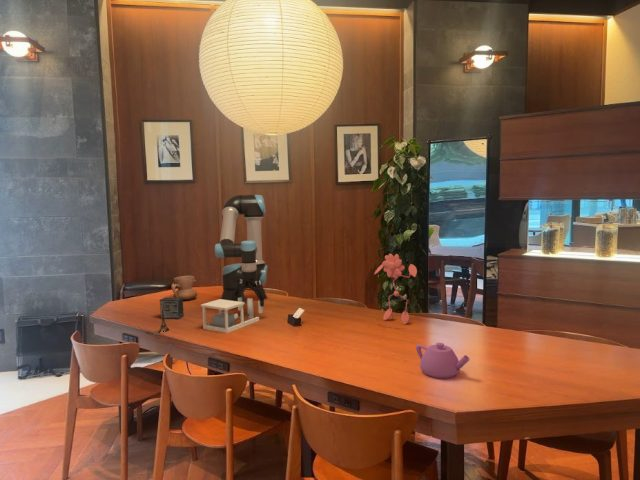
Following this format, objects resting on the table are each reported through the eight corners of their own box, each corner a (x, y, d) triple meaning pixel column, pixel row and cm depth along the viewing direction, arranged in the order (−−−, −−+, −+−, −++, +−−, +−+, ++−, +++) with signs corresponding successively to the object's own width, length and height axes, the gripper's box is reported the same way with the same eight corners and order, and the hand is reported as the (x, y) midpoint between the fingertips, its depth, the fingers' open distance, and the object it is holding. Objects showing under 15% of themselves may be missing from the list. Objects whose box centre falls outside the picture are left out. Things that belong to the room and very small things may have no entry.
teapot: (461, 386, 154) (461, 355, 153) (407, 372, 167) (407, 343, 166) (476, 373, 165) (477, 344, 164) (424, 361, 178) (425, 334, 176)
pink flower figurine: (381, 315, 244) (379, 250, 240) (423, 325, 226) (423, 254, 222) (362, 322, 233) (360, 253, 229) (405, 332, 215) (404, 258, 211)
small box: (184, 316, 251) (183, 297, 250) (179, 319, 245) (178, 299, 244) (165, 315, 252) (164, 296, 251) (160, 319, 246) (159, 299, 245)
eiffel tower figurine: (143, 333, 222) (142, 306, 220) (161, 328, 230) (159, 302, 229) (164, 338, 214) (163, 310, 212) (181, 332, 222) (180, 305, 221)
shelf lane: (235, 319, 243) (234, 294, 242) (260, 322, 235) (259, 297, 234) (201, 331, 222) (200, 304, 221) (227, 335, 214) (226, 308, 213)
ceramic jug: (188, 295, 303) (187, 274, 302) (203, 297, 295) (202, 275, 293) (165, 301, 288) (163, 279, 287) (180, 304, 280) (179, 281, 279)
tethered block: (247, 316, 244) (246, 297, 243) (257, 317, 241) (257, 298, 240) (212, 328, 222) (211, 308, 221) (223, 330, 218) (222, 309, 217)
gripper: (225, 270, 242) (227, 310, 244) (264, 273, 229) (265, 315, 231) (235, 268, 248) (236, 307, 250) (273, 271, 236) (274, 312, 238)
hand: (250, 311), depth 241 cm, fingers open, 13 cm apart
